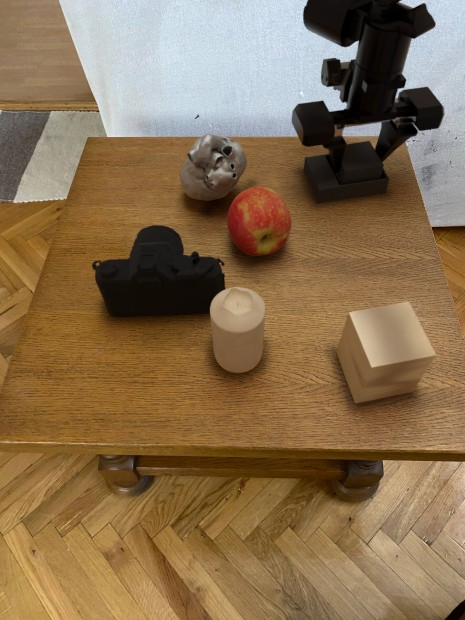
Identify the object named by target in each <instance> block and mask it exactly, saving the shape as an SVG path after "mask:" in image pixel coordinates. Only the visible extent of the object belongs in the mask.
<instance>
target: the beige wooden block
mask: <svg viewBox="0 0 465 620" xmlns="http://www.w3.org/2000/svg"><path fill="white" fill-rule="evenodd" d="M335 353H336V356H337V359H338V361H339V364H340V367H341V369H342V372H343V375H344V377H345V380H346V383H347V386H348V389H349V391H350V393H351V396H352V399H353V402H354V404H359V403H365V402H370V401H376V400H380V399H385V398H390V397H395V396H400V395H405V394H410V393H413V391H414V390H415V388H417V385H418V384H419V382H420V381H421V380H422V378H423V376H424V375H425V373H426V372H427V370H428V369H429V368H430V366H431V364H432V362H433V361H434V360H435V358H436V357H437V353H436V351H435V349H434V348H433V346H432V343H431V342H430V340H429V338H428V335H427V333H426V332H425V330H424V328H423V326H422V323H421V322H420V320H419V318H418V316H417V314H416V312H415V311H414V308H413V306H412V304H411V302H410V301H409V300H408V301H403V302H397V303H392V304H386V305H381V306H376V307H375V306H374V307H369V308H365V309H364V308H363V309H359V310H358V309H357V310H353V311H348V313H347V317H346V320H345V322H344V326H343V329H342V332H341V336H340V338H339V341H338V345H337V348H336V351H335Z"/></svg>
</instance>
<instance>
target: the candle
mask: <svg viewBox="0 0 465 620" xmlns="http://www.w3.org/2000/svg"><path fill="white" fill-rule="evenodd" d="M209 314H210V315H209V317H210V326H211V327H210V328H211V337H212V348H213V354H214V358H215V361H216V362H217V364H218V365H219V366H220V367H221V368H222V369H224V371H227V372H229V373H234V374H242V373H246V372H249V371H251V370H253V369H254V368H256V367H257V365H258V364H259V363H260V361H261V359H262V358H263V357H262V356H263V349H264V337H265V323H266V304H265V302H264V299H263V297H261V296H260V294H259V293H258V292H256V291H255V290H252V289H250V288H247V287H243V286H233V287H228V288H225V290H223V291H221V292H220V293H219V294H217V295H216V296H215V298H214V299H213V301H212V303H211V306H210V313H209Z"/></svg>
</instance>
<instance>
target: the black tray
mask: <svg viewBox="0 0 465 620" xmlns="http://www.w3.org/2000/svg"><path fill="white" fill-rule="evenodd" d="M302 172H303V174H304V176H305V178H306V181H307V183H308V186H309V188H310V190H311V193H312V195H313V197H314V200H315V201H316V204H322V203H329V202H335V201H341V200H347V199H356V198H362V197H368V196H374V195H381V194H386V192H387V189H388V185H389V182H390V178H389V175H388V174H387V172H386V170H385V168H383V171H382V174H381V178H380V179H378V180H372V181H365V182H359V183H352V184H345V185H342V184H340V183H339V181H338V179H337V177H336V174H334V172H333V169H332V164H331V162H330V155H329V153H326V154H319V155H311V156H305V157H304V161H303V170H302Z"/></svg>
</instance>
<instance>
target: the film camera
mask: <svg viewBox="0 0 465 620" xmlns="http://www.w3.org/2000/svg"><path fill="white" fill-rule="evenodd" d="M182 240H183V239H182V237H181V235H180V234H179V232H177V231H176V230H175V229H173V228H171V227H170V226H167V225H163V224H160V225H159V224H152V225H148V226H145V227H143V228H141V229H140V230H139V231H138V232H137V234H136V237H135V239H134V241H133V245H132V246H131V250H130V251H129V258H116V259H111V258H110V259H106V260H103V261H102V260H94V261H93V262H92V263H91V267H92V269H93V271H95V272H94V279H95V283H96V286H97V288H98V291H99V293H100V295H101V298H102V300H103V303H104V305H105V309H106V310H107V311H108V313H109V314H111V315H112V316H114V317H149V316H150V317H152V316H153V317H154V316H184V315H189V316H191V315H201V314H202V315H203V314H210V306H211V303H212V301H213V299H214V298H215V296H216V295H217V294H219V293H220V292H221V291H223V290H226V280H225V279H226V274H225V272H224V273H223V269H222V267H224V266H225V262H224V261H223V260H222V259H220V258H219V257H218V258H216V257H213V256H212V255H209V256H200V254H199V252H198V251H197V250H194V251H192V253H190V255H189V254H184V253H185V251H184V244H183V241H182ZM97 264H98V265H97Z"/></svg>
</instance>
